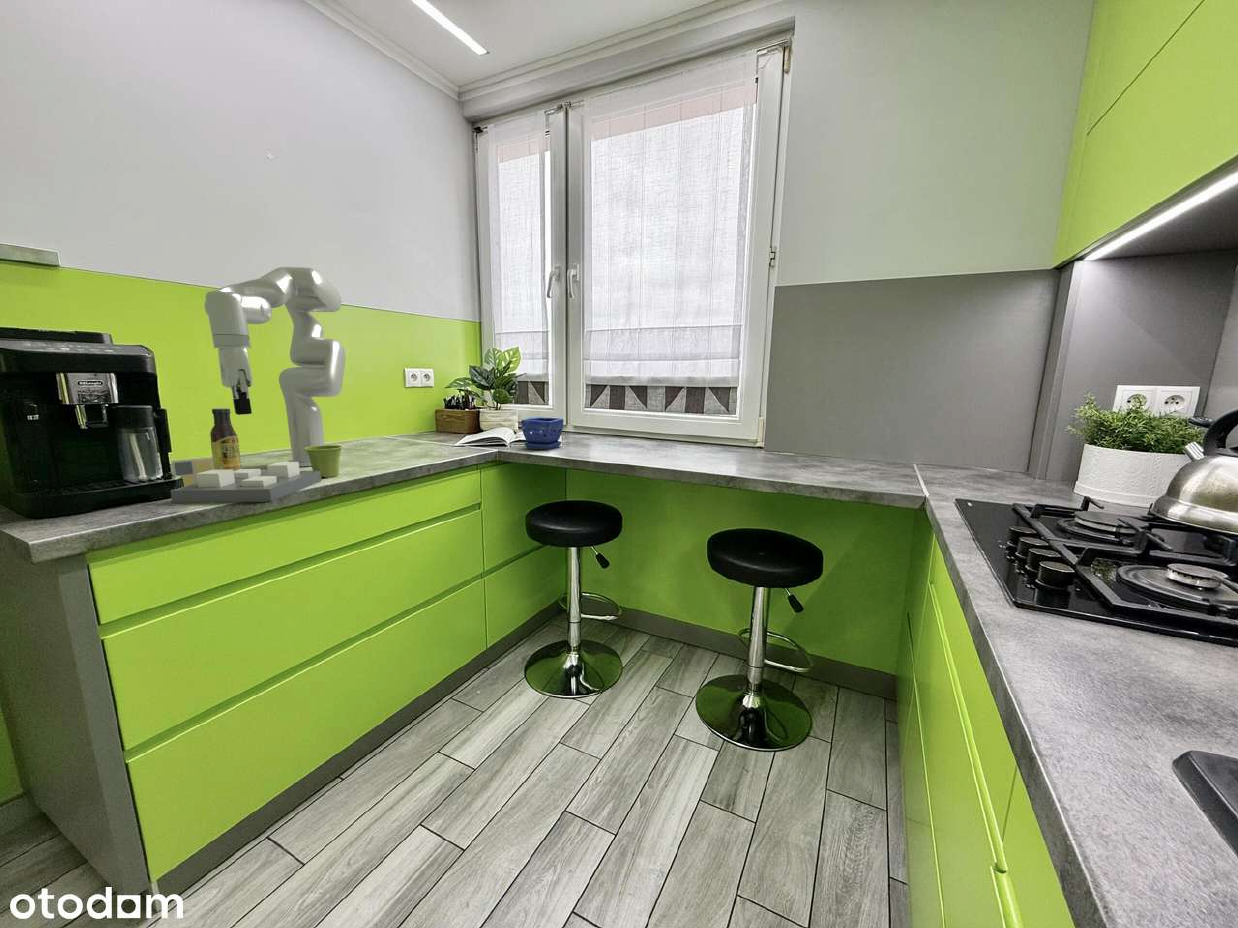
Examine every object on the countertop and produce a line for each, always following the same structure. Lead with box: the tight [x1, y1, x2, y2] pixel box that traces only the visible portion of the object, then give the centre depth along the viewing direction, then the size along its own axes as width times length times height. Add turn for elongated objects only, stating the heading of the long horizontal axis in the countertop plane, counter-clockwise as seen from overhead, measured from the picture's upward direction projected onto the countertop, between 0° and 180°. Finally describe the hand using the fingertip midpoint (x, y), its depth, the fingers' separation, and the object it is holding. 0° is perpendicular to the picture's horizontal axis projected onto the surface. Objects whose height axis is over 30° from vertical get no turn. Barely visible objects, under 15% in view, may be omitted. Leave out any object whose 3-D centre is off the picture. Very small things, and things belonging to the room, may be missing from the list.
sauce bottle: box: [209, 407, 242, 471], centre depth 139 cm, size 6×6×20 cm
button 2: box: [233, 468, 262, 478], centre depth 128 cm, size 5×5×4 cm
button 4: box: [266, 461, 301, 478], centre depth 128 cm, size 5×5×4 cm
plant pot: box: [305, 444, 343, 479], centre depth 141 cm, size 9×9×9 cm
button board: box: [169, 470, 322, 504], centre depth 123 cm, size 22×22×3 cm
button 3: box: [241, 476, 277, 487], centre depth 119 cm, size 5×5×4 cm
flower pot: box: [520, 417, 564, 451], centre depth 196 cm, size 13×13×12 cm
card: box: [170, 456, 214, 486], centre depth 125 cm, size 1×8×8 cm, turn 134°
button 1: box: [196, 470, 235, 487], centre depth 118 cm, size 5×5×4 cm
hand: (243, 413), depth 127 cm, fingers closed
